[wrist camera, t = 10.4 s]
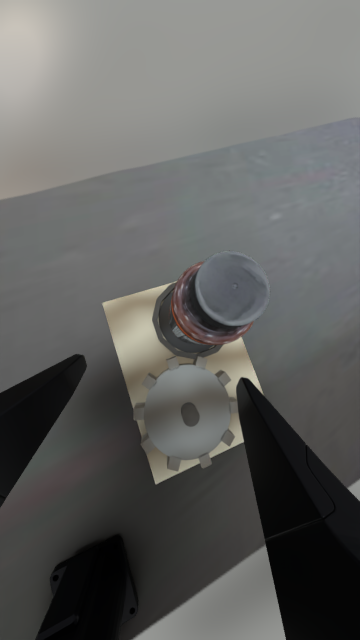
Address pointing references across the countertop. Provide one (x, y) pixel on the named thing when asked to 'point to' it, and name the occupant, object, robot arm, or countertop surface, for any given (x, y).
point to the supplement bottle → (218, 299)
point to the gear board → (154, 360)
